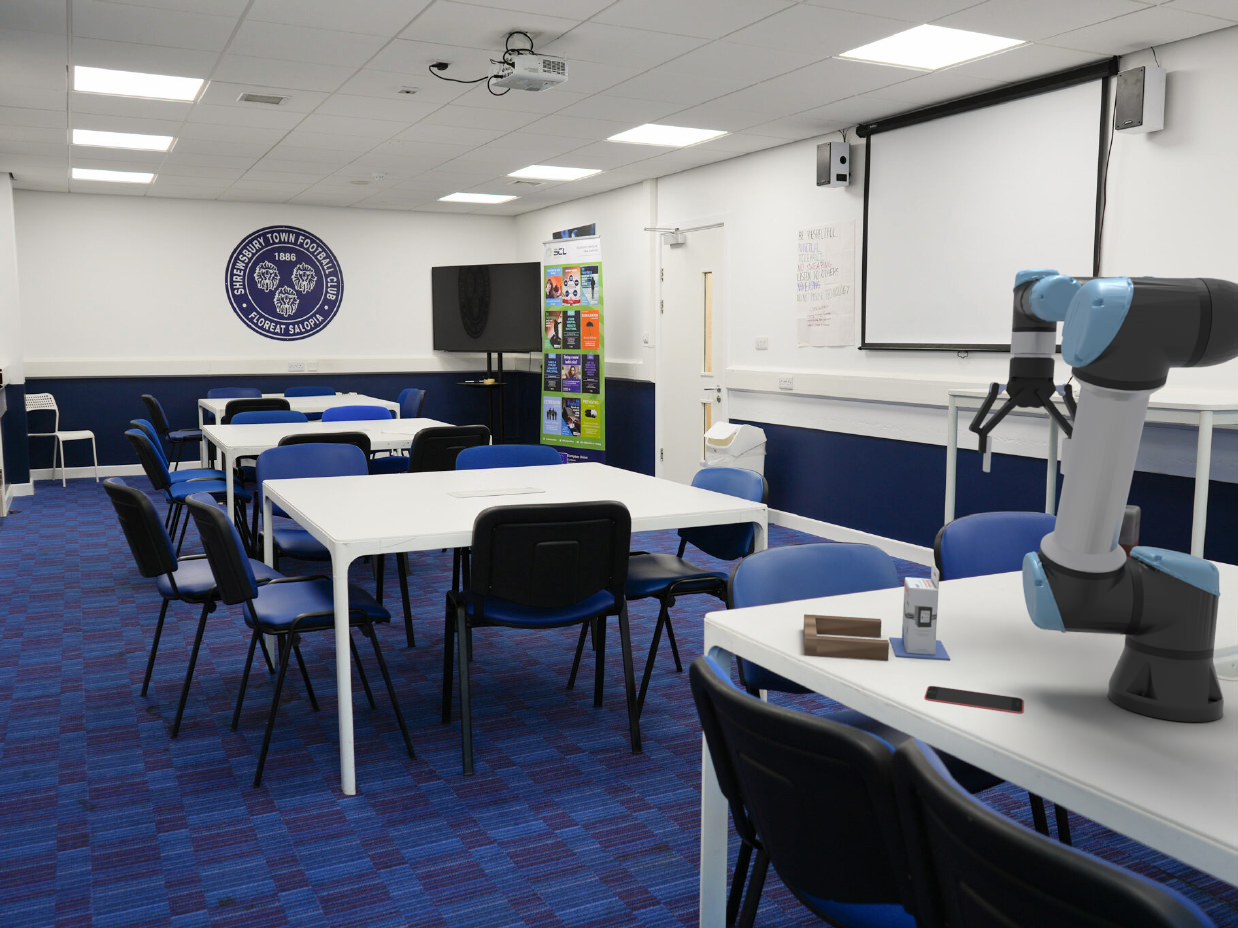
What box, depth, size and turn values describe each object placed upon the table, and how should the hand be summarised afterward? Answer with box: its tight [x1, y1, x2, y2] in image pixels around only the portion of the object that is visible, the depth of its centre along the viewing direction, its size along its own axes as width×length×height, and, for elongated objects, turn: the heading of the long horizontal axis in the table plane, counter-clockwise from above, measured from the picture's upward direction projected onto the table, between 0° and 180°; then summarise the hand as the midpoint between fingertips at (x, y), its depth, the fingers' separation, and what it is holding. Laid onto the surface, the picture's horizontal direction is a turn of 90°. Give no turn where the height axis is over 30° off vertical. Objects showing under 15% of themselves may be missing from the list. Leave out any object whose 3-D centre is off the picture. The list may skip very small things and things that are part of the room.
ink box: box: [901, 562, 940, 655], centre depth 172 cm, size 9×5×15 cm, turn 170°
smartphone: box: [923, 685, 1025, 715], centre depth 148 cm, size 7×1×14 cm
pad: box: [889, 636, 951, 661], centre depth 173 cm, size 11×9×1 cm
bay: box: [803, 613, 890, 661], centre depth 175 cm, size 16×14×3 cm
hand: (1025, 472), depth 179 cm, fingers open, 13 cm apart
